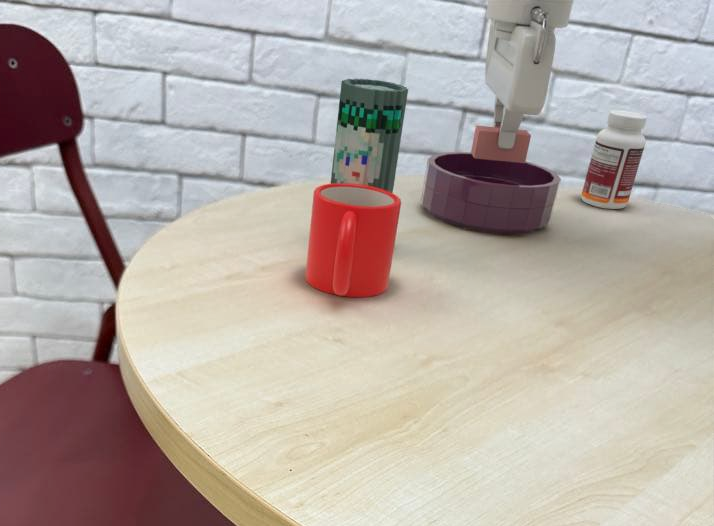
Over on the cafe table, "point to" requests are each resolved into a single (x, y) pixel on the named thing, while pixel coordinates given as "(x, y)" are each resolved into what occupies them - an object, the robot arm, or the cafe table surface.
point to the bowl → (489, 193)
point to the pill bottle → (615, 161)
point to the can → (368, 132)
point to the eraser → (490, 150)
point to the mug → (352, 239)
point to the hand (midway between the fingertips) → (501, 143)
